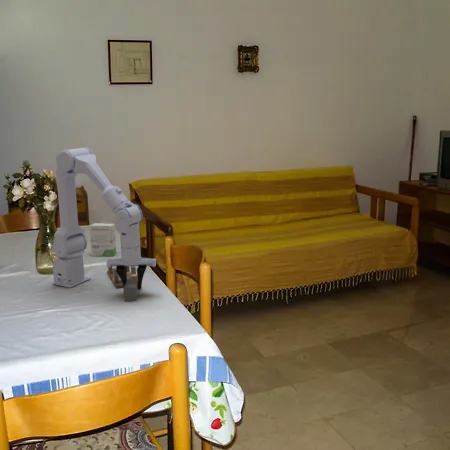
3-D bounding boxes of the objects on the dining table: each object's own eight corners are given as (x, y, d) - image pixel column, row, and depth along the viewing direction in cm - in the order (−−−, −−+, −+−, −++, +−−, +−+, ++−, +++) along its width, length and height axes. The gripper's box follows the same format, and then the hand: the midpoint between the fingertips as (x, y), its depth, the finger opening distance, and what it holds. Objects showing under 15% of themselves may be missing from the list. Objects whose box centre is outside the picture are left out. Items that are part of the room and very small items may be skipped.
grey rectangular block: (136, 301, 158) (135, 286, 156) (124, 302, 157) (123, 286, 156) (141, 287, 169) (140, 273, 168) (130, 287, 169) (129, 273, 168)
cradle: (138, 285, 171) (137, 268, 169) (116, 288, 168) (115, 271, 167) (127, 270, 185) (126, 255, 184) (107, 273, 183) (106, 258, 181)
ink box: (91, 256, 203) (88, 225, 200) (95, 252, 208) (93, 222, 205) (113, 256, 202) (111, 226, 199) (117, 252, 207) (115, 222, 204)
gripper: (156, 241, 164) (158, 283, 167) (108, 242, 164) (111, 284, 167) (153, 248, 157) (155, 291, 160) (104, 249, 157) (107, 292, 160)
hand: (133, 288), depth 163 cm, fingers closed on grey rectangular block, 4 cm apart
